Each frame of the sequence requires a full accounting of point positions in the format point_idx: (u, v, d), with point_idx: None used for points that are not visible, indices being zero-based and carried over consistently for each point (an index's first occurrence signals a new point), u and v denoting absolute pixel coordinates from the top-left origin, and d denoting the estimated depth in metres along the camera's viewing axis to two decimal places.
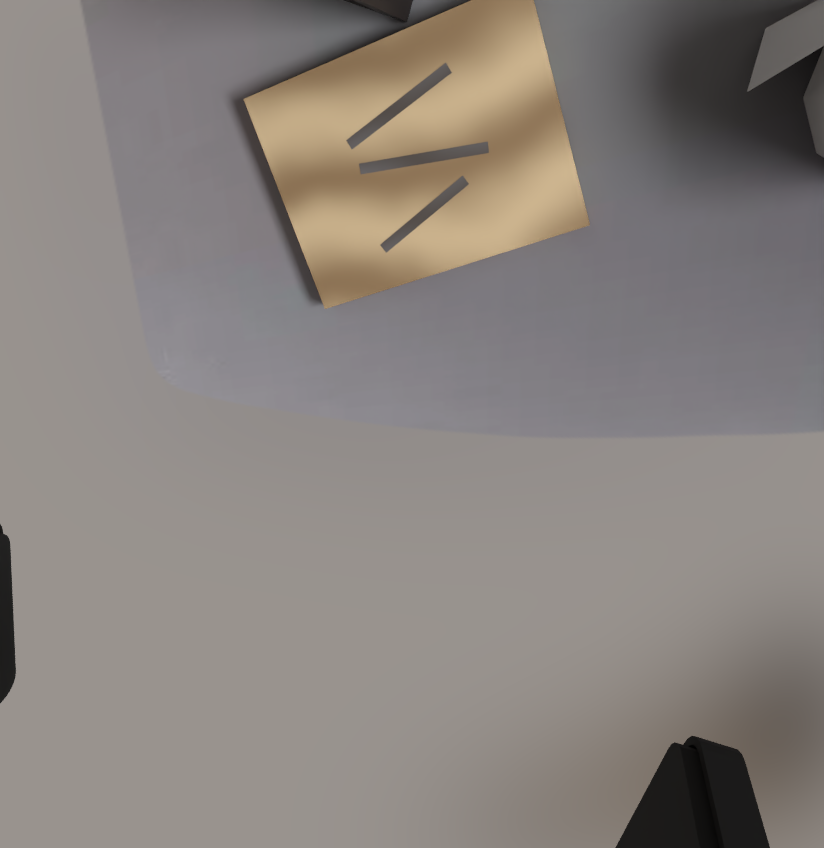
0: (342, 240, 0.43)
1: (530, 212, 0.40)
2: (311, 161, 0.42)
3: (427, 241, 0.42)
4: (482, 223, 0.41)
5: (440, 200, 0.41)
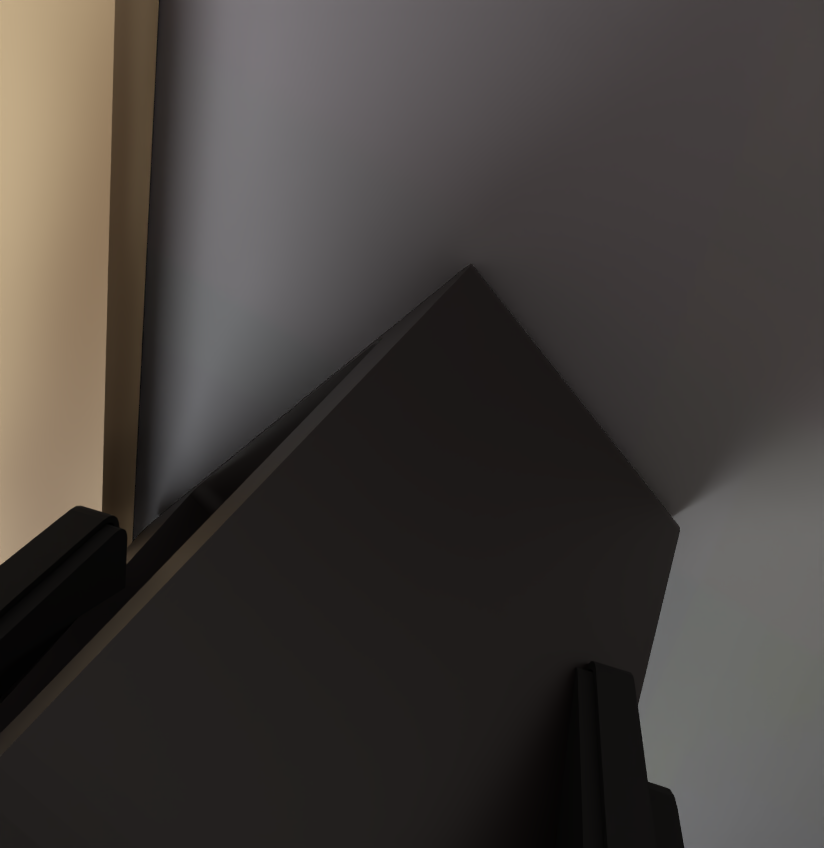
0: None
1: None
2: None
3: None
4: None
5: None
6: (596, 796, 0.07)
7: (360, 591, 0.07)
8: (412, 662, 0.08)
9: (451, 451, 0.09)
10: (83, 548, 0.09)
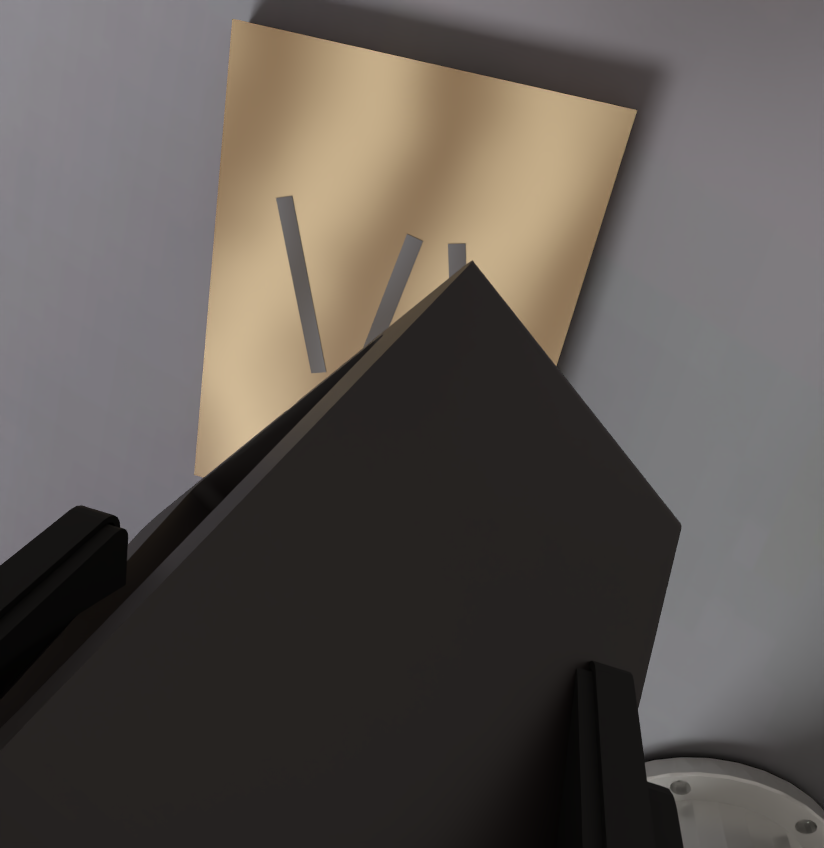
0: (328, 135, 0.23)
1: (239, 422, 0.28)
2: (472, 165, 0.23)
3: (263, 272, 0.25)
4: (253, 359, 0.27)
5: (310, 324, 0.26)
6: (595, 796, 0.07)
7: (362, 587, 0.07)
8: (414, 658, 0.08)
9: (452, 448, 0.09)
10: (84, 548, 0.09)
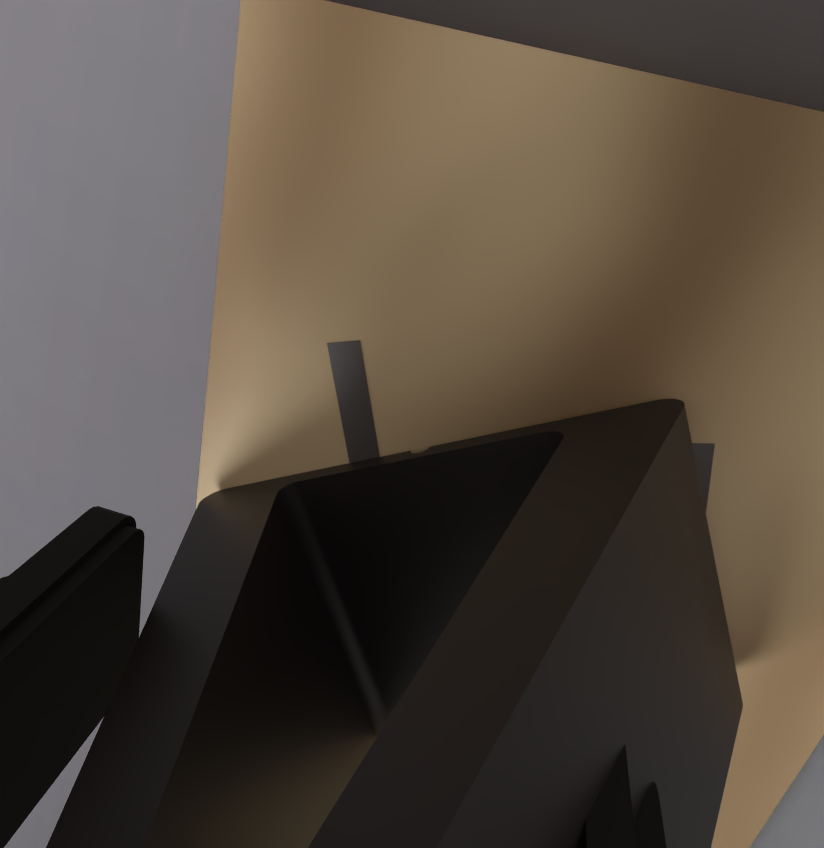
0: (442, 227, 0.11)
1: None
2: (752, 297, 0.11)
3: (299, 471, 0.13)
4: None
5: None
6: None
7: (582, 780, 0.07)
8: None
9: (648, 618, 0.09)
10: (102, 549, 0.09)
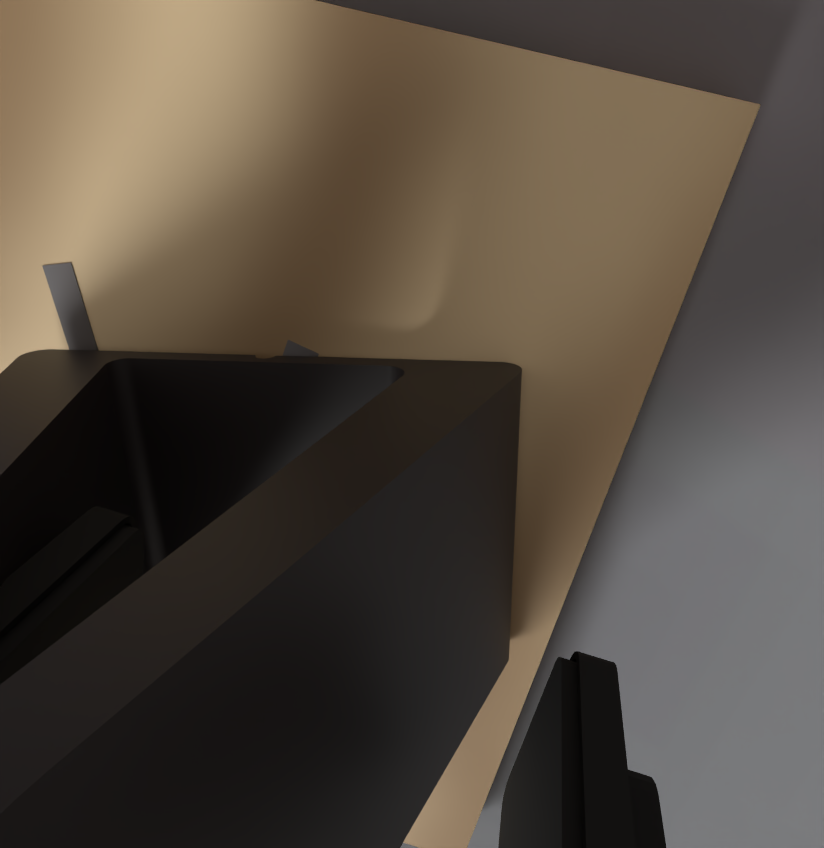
0: (126, 148, 0.12)
1: None
2: (408, 213, 0.11)
3: None
4: None
5: None
6: (576, 782, 0.07)
7: (321, 677, 0.07)
8: (320, 754, 0.08)
9: (431, 552, 0.09)
10: (102, 549, 0.09)
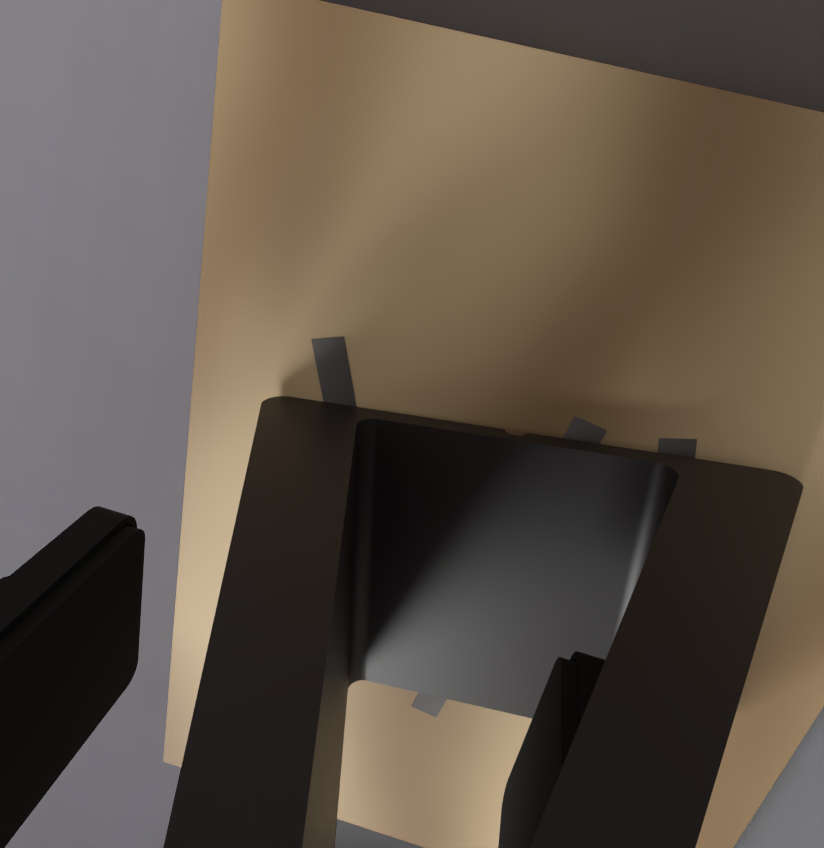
0: (424, 223, 0.11)
1: None
2: (732, 292, 0.11)
3: None
4: None
5: None
6: None
7: None
8: None
9: None
10: (102, 549, 0.09)
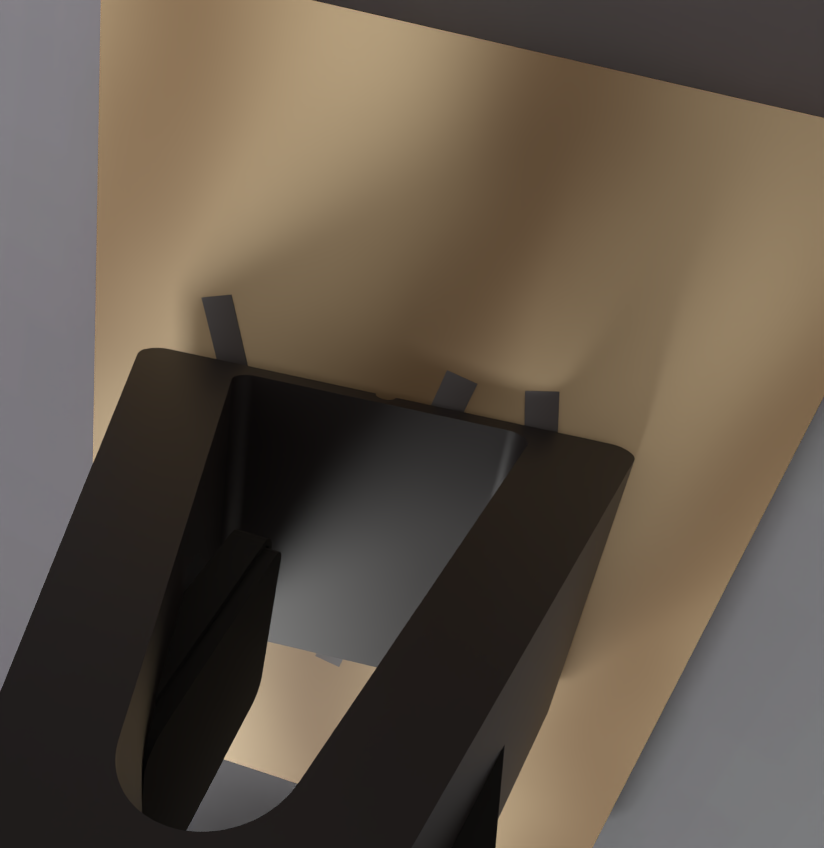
0: (298, 185, 0.12)
1: None
2: (581, 249, 0.11)
3: None
4: None
5: None
6: None
7: (492, 755, 0.08)
8: None
9: (558, 630, 0.10)
10: (252, 572, 0.09)
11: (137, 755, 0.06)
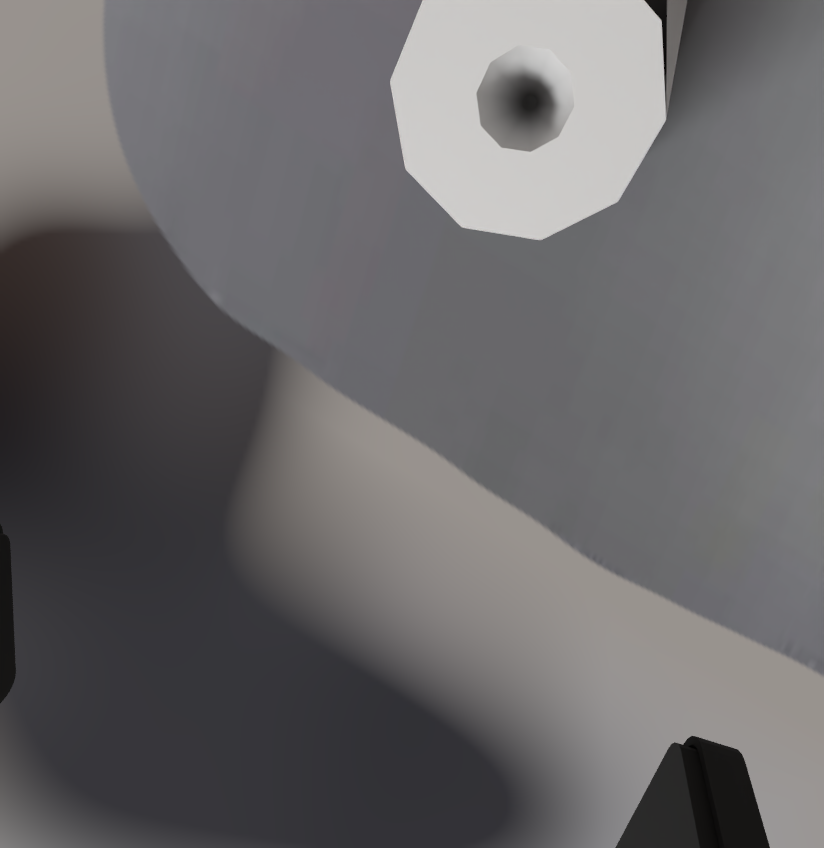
0: None
1: None
2: None
3: None
4: None
5: None
6: None
7: None
8: None
9: None
10: None
11: None
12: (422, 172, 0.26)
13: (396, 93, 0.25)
